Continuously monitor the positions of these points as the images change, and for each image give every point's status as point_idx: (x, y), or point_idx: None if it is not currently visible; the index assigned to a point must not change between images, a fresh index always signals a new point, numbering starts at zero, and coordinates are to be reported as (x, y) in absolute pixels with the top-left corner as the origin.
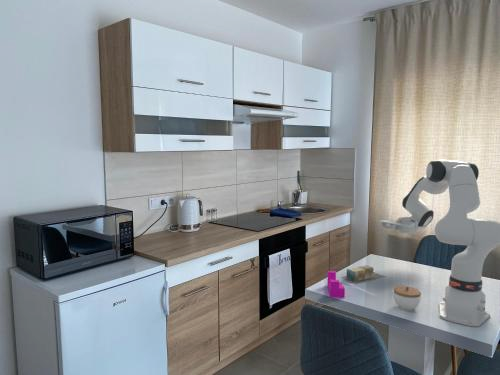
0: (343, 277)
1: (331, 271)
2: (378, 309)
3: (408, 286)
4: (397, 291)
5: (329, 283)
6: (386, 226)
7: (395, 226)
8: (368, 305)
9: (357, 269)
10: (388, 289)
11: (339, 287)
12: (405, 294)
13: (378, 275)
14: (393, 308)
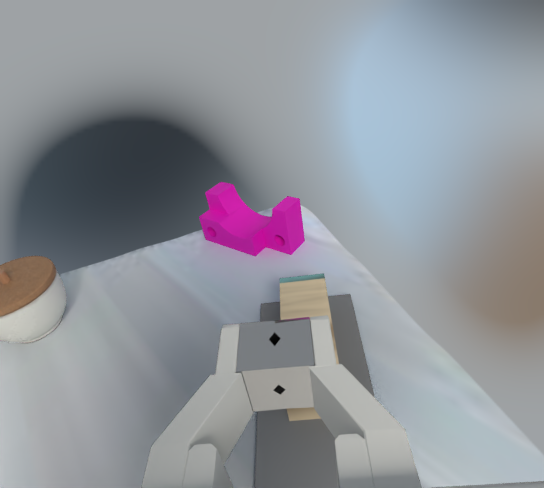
0: (342, 302)
1: (289, 204)
2: (102, 265)
3: (7, 304)
4: (34, 256)
5: (270, 218)
6: (284, 323)
7: (155, 472)
8: (133, 259)
9: (298, 305)
10: (149, 381)
11: (213, 211)
12: (7, 262)
13: (296, 473)
14: (71, 295)
